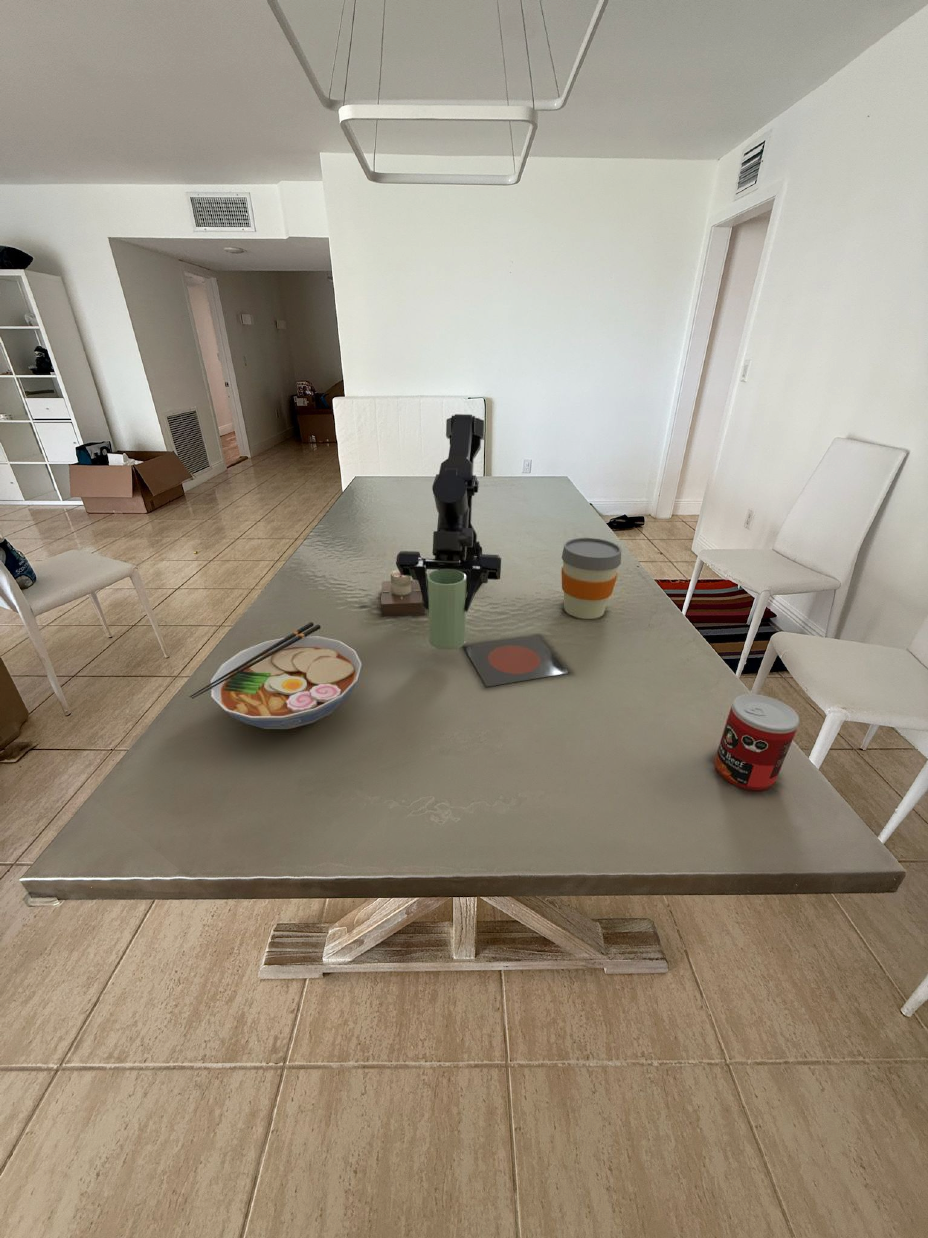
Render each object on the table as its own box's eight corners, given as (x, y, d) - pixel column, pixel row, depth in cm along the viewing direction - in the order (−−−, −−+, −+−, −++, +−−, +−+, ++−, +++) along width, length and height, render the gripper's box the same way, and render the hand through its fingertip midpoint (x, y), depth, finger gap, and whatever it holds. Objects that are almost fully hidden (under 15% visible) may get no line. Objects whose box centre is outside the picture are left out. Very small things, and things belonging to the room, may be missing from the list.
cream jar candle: (391, 587, 120) (390, 568, 118) (410, 586, 121) (410, 567, 118) (391, 595, 116) (390, 576, 114) (411, 595, 117) (410, 575, 114)
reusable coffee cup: (614, 602, 122) (624, 541, 114) (609, 626, 111) (620, 561, 104) (561, 594, 125) (567, 534, 118) (551, 617, 115) (558, 553, 108)
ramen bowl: (282, 785, 71) (272, 739, 67) (182, 726, 81) (168, 683, 78) (397, 693, 90) (394, 653, 86) (303, 654, 100) (297, 617, 96)
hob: (463, 647, 103) (463, 646, 103) (537, 636, 107) (537, 635, 107) (486, 687, 91) (486, 686, 91) (568, 673, 96) (568, 672, 96)
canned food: (703, 754, 77) (722, 694, 72) (754, 751, 78) (776, 692, 73) (731, 794, 71) (753, 731, 65) (786, 790, 71) (813, 728, 66)
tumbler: (442, 627, 101) (442, 565, 95) (472, 637, 98) (473, 574, 92) (421, 643, 96) (419, 578, 90) (452, 654, 93) (452, 588, 87)
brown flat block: (382, 592, 125) (381, 580, 123) (420, 591, 126) (419, 579, 124) (381, 616, 114) (380, 603, 113) (422, 614, 115) (422, 601, 114)
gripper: (395, 507, 90) (385, 592, 85) (503, 511, 88) (499, 598, 84) (405, 535, 100) (397, 612, 96) (502, 539, 99) (498, 617, 95)
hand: (445, 610), depth 92 cm, fingers closed on tumbler, 7 cm apart
